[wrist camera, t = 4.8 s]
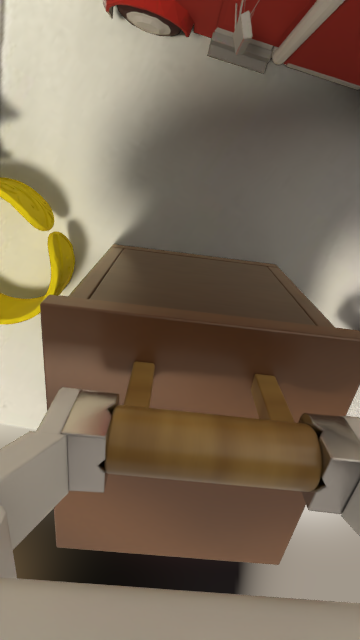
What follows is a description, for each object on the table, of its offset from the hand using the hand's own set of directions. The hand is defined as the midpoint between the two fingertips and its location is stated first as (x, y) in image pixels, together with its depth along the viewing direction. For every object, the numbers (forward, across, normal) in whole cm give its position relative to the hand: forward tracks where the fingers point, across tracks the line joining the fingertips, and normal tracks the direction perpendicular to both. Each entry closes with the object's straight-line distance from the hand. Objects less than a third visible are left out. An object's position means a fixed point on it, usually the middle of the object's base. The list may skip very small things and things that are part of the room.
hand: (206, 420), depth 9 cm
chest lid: (+3, 0, +4) cm, 5 cm away
